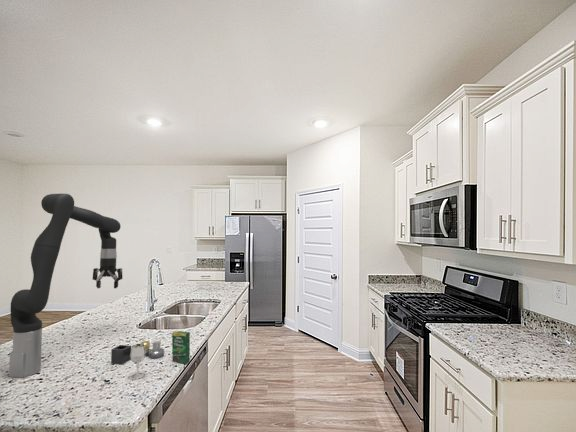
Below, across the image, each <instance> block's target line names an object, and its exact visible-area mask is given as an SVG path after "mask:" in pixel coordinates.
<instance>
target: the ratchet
mask: <svg viewBox="0 0 576 432" xmlns="http://www.w3.org/2000/svg"><path fill="white" fill-rule="evenodd" d="M164 355H165V349H164V348H162V347H161V340H154V341H153V342H152V349H149V350H146V356H145V358H146V357H148V358H149V359H151V360H157V359H162V358H163V357H164Z"/></svg>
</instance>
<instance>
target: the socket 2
mask: <svg viewBox="0 0 576 432" xmlns="http://www.w3.org/2000/svg"><path fill="white" fill-rule="evenodd" d="M150 342H151V341H149V340H144V341H141V342H140V344H144V345H145V348H146V350H150V349H151V348H150V345H151V343H150Z"/></svg>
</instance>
